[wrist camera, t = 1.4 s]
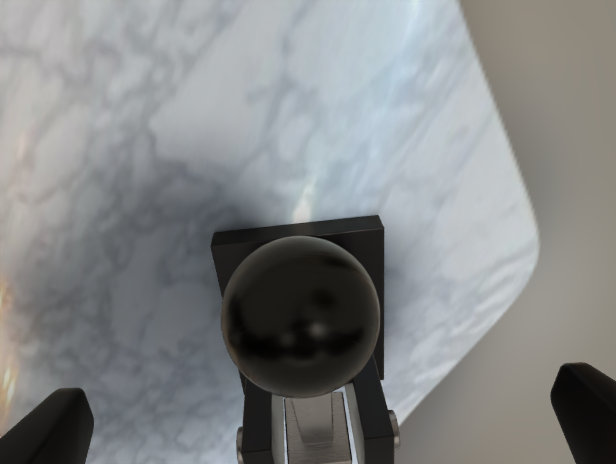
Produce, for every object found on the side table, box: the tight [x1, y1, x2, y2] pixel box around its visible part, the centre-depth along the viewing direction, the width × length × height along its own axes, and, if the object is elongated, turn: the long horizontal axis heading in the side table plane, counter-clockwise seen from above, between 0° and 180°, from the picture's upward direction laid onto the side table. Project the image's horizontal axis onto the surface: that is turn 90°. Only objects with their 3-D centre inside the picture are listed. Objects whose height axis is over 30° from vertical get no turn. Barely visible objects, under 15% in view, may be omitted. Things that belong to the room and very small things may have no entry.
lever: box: [221, 236, 380, 464], centre depth 13 cm, size 13×3×3 cm, turn 5°
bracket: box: [210, 215, 400, 464], centre depth 20 cm, size 10×8×10 cm
